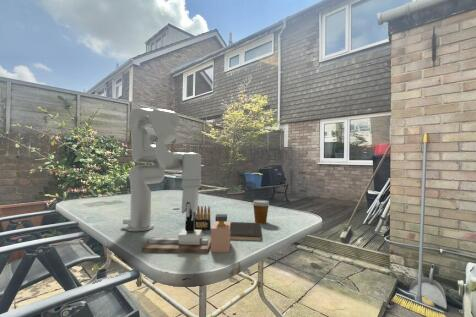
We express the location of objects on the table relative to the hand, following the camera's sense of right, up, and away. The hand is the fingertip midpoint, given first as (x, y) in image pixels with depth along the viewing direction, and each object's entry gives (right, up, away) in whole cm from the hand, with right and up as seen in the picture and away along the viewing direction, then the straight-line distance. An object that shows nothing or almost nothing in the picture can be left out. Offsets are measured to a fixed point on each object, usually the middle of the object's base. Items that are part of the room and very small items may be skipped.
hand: (190, 228), depth 95 cm
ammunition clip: (0, -8, +24) cm, 25 cm away
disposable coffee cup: (+32, -8, +40) cm, 52 cm away
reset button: (+12, 0, 0) cm, 12 cm away
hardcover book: (+22, -9, +21) cm, 31 cm away
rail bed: (-5, -7, 0) cm, 9 cm away
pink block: (+12, -7, 0) cm, 14 cm away
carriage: (0, -5, 0) cm, 5 cm away
